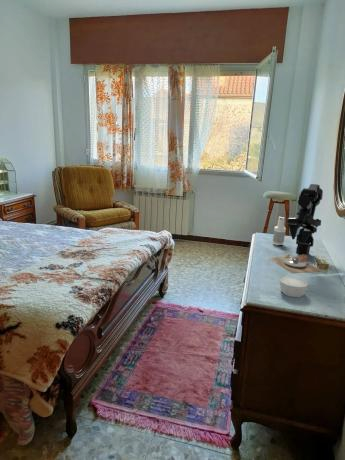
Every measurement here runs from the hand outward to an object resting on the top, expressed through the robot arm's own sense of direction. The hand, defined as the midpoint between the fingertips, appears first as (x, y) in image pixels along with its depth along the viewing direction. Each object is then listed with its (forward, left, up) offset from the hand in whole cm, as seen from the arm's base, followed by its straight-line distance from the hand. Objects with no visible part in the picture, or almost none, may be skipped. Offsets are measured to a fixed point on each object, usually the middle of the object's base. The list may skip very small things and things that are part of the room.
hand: (298, 241), depth 165 cm
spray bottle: (-13, -37, -14) cm, 41 cm away
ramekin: (+19, +27, -14) cm, 36 cm away
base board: (-1, -1, -14) cm, 14 cm away
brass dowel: (-1, -8, -13) cm, 15 cm away
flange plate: (-2, -1, -13) cm, 13 cm away
